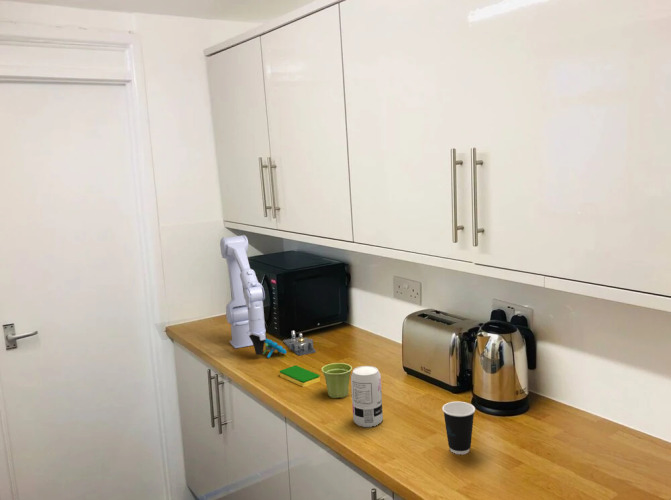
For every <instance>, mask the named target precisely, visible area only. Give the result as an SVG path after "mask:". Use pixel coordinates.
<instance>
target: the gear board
mask: <svg viewBox="0 0 671 500" xmlns="http://www.w3.org/2000/svg"><path fill="white" fill-rule="evenodd" d="M282 342H284V343H285V344H284V343H283V344H284V345H285V346H287V347H288V349H289V350H291V351H292V352H293V353H294V354H295V355H297V356H304V355H310V354H314V353H316V352H317V349H315V348H314V339H312V338H310V339H309V338H308V337H303V333H302V332H299V333H298V337H296V331H295V330H291V338H288V339H283V340H282Z"/></svg>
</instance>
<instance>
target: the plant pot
mask: <svg viewBox="0 0 671 500" xmlns="http://www.w3.org/2000/svg"><path fill="white" fill-rule="evenodd" d="M352 371H353V367H352V366H351V364H348V363H345V362H344V363H343V362H333V363H329V364H325V365H324V366H322V367H321V372H322V373H323V376H324V379H325V384H326V388H327V389H326V390H327V395H328V397H330V398H333V399H338V398H345V397H347V396H348V395H349V386H350V385H349V384H350V379H351V375H352V373H351V372H352Z"/></svg>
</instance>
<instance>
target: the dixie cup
mask: <svg viewBox="0 0 671 500" xmlns="http://www.w3.org/2000/svg"><path fill="white" fill-rule="evenodd" d="M475 411H476V407H475V406H474V405H473V404H472V403H470V402H465V401H459V400H458V401H450V402H447V403H445V404H443V405H442V412H443V417H444V423H445V430H446V437H447V438H446V439H447V443H448V448H449V450H450V452H451V453H452V452H453V453H452V454H454V453H455V455H460V454H461V456H462V455H466V454H468V453H469V452H470V449H471V447H472V438H473V437H472V436H473V428H474V417H475V416H474V415H475Z"/></svg>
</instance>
